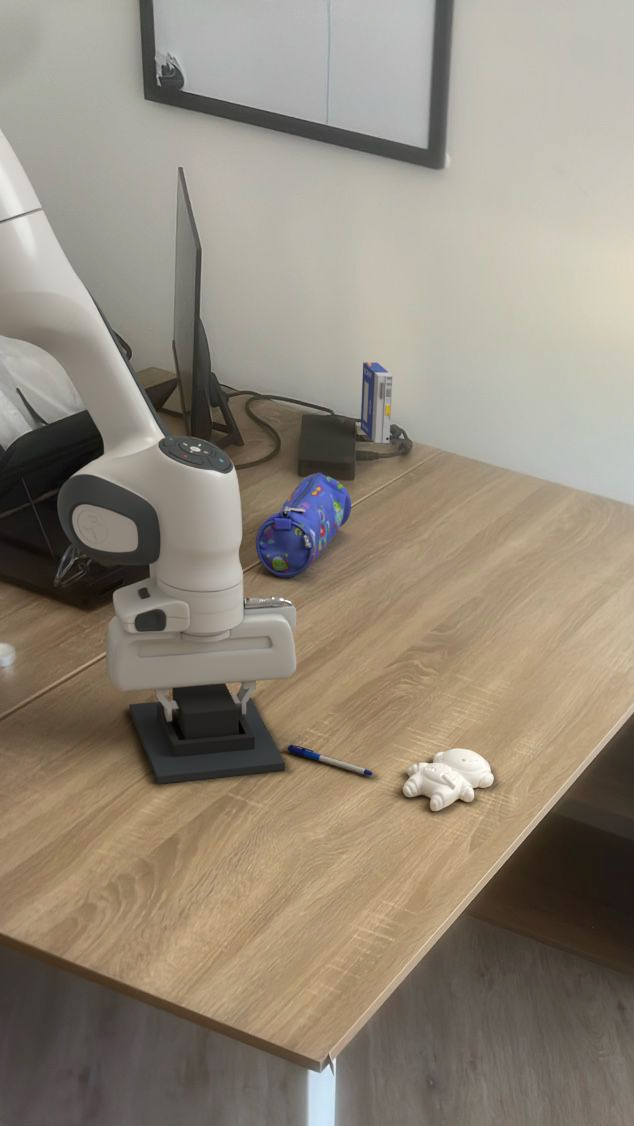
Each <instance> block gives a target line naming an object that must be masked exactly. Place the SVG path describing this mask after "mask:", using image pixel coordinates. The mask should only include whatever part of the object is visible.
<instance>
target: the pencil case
mask: <svg viewBox="0 0 634 1126" xmlns="http://www.w3.org/2000/svg"><path fill="white" fill-rule="evenodd" d="M278 511H279V512H276V513H273V514H272V515H271V516H270V517H268V518H267V519H266V520H265V521H264V522H263V523H261V524H260V526H259V529H258V531H257V533H256V537H255V551H256V554H257V557H258V559H259V561H260V563H261V564H262V566H263V567H264V568H265V569H266V570H268V572H270V573H271V574H273V575H275V576H277V577H279V578H284V579H285V578H292V577H294V576H298V575H300V574H302V573H304V572H305V571H306V570H307V569H309V567H310V565H311V564H312V563H313V562H314V561H315V560H317V559H318V557H319V556H320V555H321V554H322V552H323V551H324V550H325V549H326V548H327V546H329V544H330V543H331V541H332V540H333V539H334V537H335V536H336V534H337V533H338V531H339V529H340V528H341V527H343V526H344V525H345V524H346V523H347V522H348V519H349V518H350V515H351V512H352V500H351V496H350V494H349V491H348V490H347V488H346V487H345V486H344V485H343V484H342V483H341V482H340V481H338V480H337V479H335V478H333V477H330V476H329V475H325V474H323V473H322V472H316V473H313V474H310V475H307V476H305V477H303V478H302V479H301V481H299V483H298V485H297V486H296V487H295V488H294V490H293V491H292V492H291V494H290V495H289V497H288V498H287V499H286V500H285V502H284V503H283V505H282V507H281V509H279V510H278Z"/></svg>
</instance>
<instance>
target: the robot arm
mask: <svg viewBox="0 0 634 1126" xmlns="http://www.w3.org/2000/svg"><path fill="white" fill-rule="evenodd" d="M42 208H43V207H42V204H41V203H40V200H39V198H38V196H37V194H36V191H35V189H34V187H33V185H32V183H31V181H30V180H29V176H28V175H27V173H26V171H25V169H24V167H23V166H22V164H21V162H20V160H19V158H18V157H17V155H16V153H15V151H14V149H13V147H12V146H11V144H10V142H9V141H8V139H7V138H6V136H5V134H4V132H3V131H2V129H1V128H0V336H2V337H5V338H9V339H12V340H13V339H14V340H17V341H22V342H25V343H29V344H31V345H32V346H33V345H34V346H35V347H37V348H39V349H41V350H43V351H44V352H46V353H47V354H49V355H50V356H51V357H52V358H54V360H56V362H57V363H58V364H59V365H60V366H61V367H62V369H63V370H64V371H65V373H66V374H67V376H68V378H69V380H70V382H71V383H72V385H73V387H74V389H75V390H76V392H77V394H78V396H79V397H80V399H81V402H82V403H83V404H84V406H85V409H86V410H87V412H88V413H89V415H90V417H91V419H92V421H93V422H94V423H93V424H95V426H96V428H97V430H98V431H99V433H100V436H101V438H102V442H103V443H102V444H103V454H102V455H100V456H99V457H97V458H96V459H94V460H92V461H91V462H89V463H88V464H86V465H84V466H83V467H82V468H80V469H79V470H77V471H76V472H75V473H74V474H72V475H71V476H70V477H69V478H68V479H67V480H65V482H64V483H63V484H62V486H61V488H60V490H59V491H58V495H57V505H56V506H57V515H58V520H59V523H60V526H61V527H62V531H63V532H64V534H65V536H66V537H67V538H68V540H69V541H70V542H71V544H72V545H73V547H75V548H76V549H77V550H78V551H79V552H80V553H81V554H82V555H84V556H86V557H87V558H89V559H91V560H93V561H95V562H98V563H102V564H105V565H106V564H108V565H116V566H117V565H119V566H146V565H149V564H152V565H154V566H155V569H156V575H154V576H152V577H150V576H149V577H147V578H145V579H142V580H140V581H137V582H134V583H131V584H129V585H126V586H123V587H120V588H118V589H116V590H114V592H113V594H112V603H113V609H114V614H115V615H114V616H113V617H112V618H111V620H110V621H109V623H108V626H107V631H106V642H105V665H106V666H105V667H106V673H107V677H108V680H109V683H110V684H111V685H112V687H113V688H114V689H116V690H117V691H118V692H121V693H125V692H127V693H128V692H138V691H147V690H148V691H149V690H153V692H154V694H155V695H154V696H155V697H156V698H157V700H158V702H161V703H162V705H163V706H164V713H165V717H166V720H167V722H172V721H180V707H179V705H178V703H177V701H173V700H170V699H169V696H170V689H172V688H176V687H188V686H200V685H212V684H224V683H225V684H235V683H240V684H241V686H240V688H239V689H238V690H237V693H236V694H235V695H231V696H232V698H233V700H234V702H235V704H236V706H237V708H238V715H246V702H247V701H248V700H249V698H250V697H251V698H252V696H253V694H254V693H255V691H256V689H257V682H260V681H271V680H273V681H274V680H282V679H283V680H284V679H289V678H291V677H292V676H293V674H294V673H295V672H296V670H297V655H296V654H297V653H296V647H295V646H296V645H295V640H294V635H293V632H294V631H295V629H296V627H297V618H298V617H297V616H298V611H297V608H296V606H295V604H294V603H293V602H292V601H290V600H289V599H285V598H284V596H282V595H271V596H268V597H266V596H265V597H263V596H250V597H248V596H247V597H245V596H244V571H243V568H242V563H241V561H240V547H241V543H242V540H243V515H242V500H241V492H240V484H239V479H238V475H237V471H236V467H235V465H234V463H233V461H232V459H231V457H229V455H228V453H226V452H225V451H224V450H222V449H221V448H220V447H219V446H217V445H216V444H214V443H212V442H210V441H207V440H205V439H202V438H199V437H194V436H188V435H187V436H185V435H174V433H172V431H171V430H170V429H169V428H168V426H166V424H165V422H164V421H163V420H162V418H161V417H160V415H159V414H158V412H157V411H156V408H155V407H154V406H153V403H152V402H151V399H150V398H149V395H148V394H147V392H146V390H145V388H144V386H143V385H142V383H141V381H140V379H139V377H138V375H137V373H136V371H135V369H134V367H133V365H132V364H131V362H130V360H129V358H128V356H127V354H126V352H125V350H124V349H123V347H122V344H121V343H120V340H119V339H118V337H117V335H116V333H115V331H114V330H113V328H112V326H111V324H110V323H109V321H108V319H107V317H106V315H105V314H104V312H103V310H102V309H101V307H100V305H99V303H98V301H96V299H95V298H94V296H93V295H92V293H91V292H90V290H88V289H89V288H88V287H86V285H85V284H84V283H83V282H82V281H81V279H80V278H79V276H78V274H77V273H76V272H75V270H74V268H73V266H72V265H71V263H70V261H69V259H68V258H67V256H66V254H65V252H64V250H63V248H62V246H61V244H60V243H59V241H58V239H57V237H56V235H55V233H54V231H53V229H52V226H51V223H50V222H49V220H48V217H47V215H46V213H45V211H44V210H43V209H42ZM40 209H41V210H40ZM38 210H39V211H38Z"/></svg>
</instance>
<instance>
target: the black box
mask: <svg viewBox="0 0 634 1126" xmlns="http://www.w3.org/2000/svg"><path fill="white" fill-rule="evenodd" d="M171 689H172V701H177V703H178V705H179V707H180V721H175V722H176V725H177V727H178V729H179V731H180V734H181V736H182V738H183V740H190V739H200V738H210V737H220V736H231V735H239V726H238V708H237V706H236V704H235V702H234V700H233V698H232V696H233V695H232V694H231V692H230V689H228V686H227V683H224V684H212V685H200V686H188V687H175V688H171Z"/></svg>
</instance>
